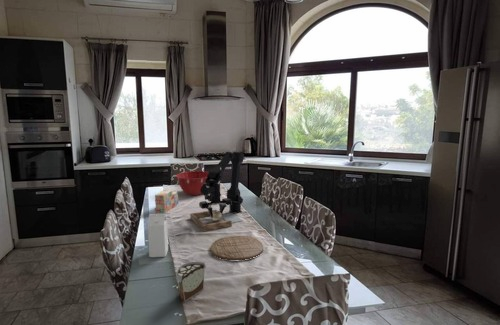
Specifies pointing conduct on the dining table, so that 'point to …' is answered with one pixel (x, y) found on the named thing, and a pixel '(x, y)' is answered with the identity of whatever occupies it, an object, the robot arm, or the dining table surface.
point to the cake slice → (190, 279)
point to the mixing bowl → (192, 181)
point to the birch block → (216, 215)
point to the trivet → (236, 248)
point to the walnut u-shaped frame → (208, 226)
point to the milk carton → (157, 235)
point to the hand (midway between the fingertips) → (215, 217)
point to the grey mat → (231, 218)
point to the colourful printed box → (166, 201)
